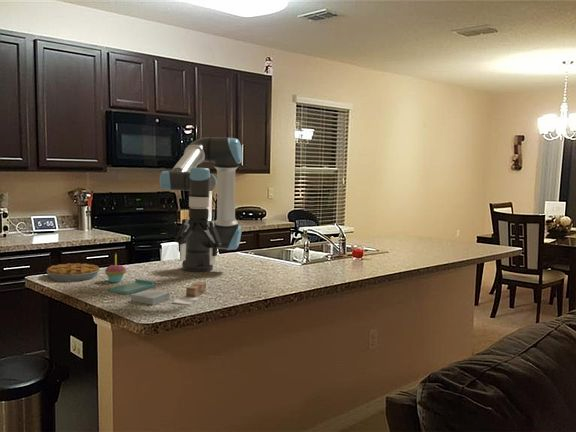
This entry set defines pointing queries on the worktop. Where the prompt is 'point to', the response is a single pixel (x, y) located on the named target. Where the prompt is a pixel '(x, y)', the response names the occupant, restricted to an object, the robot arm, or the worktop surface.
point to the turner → (192, 294)
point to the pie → (72, 272)
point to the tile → (150, 297)
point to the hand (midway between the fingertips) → (197, 262)
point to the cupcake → (115, 272)
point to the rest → (133, 286)
